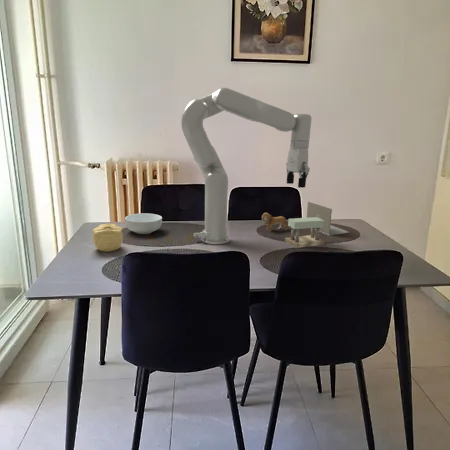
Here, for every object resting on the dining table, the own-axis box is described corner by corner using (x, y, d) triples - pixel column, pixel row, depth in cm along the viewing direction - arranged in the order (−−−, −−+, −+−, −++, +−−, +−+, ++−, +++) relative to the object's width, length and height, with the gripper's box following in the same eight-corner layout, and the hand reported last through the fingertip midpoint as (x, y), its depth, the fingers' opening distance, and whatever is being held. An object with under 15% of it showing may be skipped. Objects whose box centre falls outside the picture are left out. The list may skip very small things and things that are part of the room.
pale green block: (294, 229, 167) (294, 222, 166) (288, 225, 172) (288, 218, 171) (323, 227, 171) (324, 220, 170) (316, 223, 176) (317, 217, 175)
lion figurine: (264, 232, 188) (265, 214, 185) (258, 229, 192) (259, 211, 190) (290, 230, 193) (292, 212, 191) (285, 227, 198) (286, 209, 196)
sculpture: (93, 255, 152) (91, 228, 150) (94, 245, 164) (92, 220, 161) (124, 253, 156) (122, 226, 153) (122, 243, 167) (121, 219, 164)
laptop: (349, 233, 191) (352, 207, 187) (328, 236, 185) (331, 209, 182) (325, 224, 206) (327, 199, 203) (305, 226, 201) (307, 201, 198)
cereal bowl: (142, 239, 174) (141, 223, 172) (117, 232, 183) (117, 217, 181) (169, 231, 187) (169, 216, 185) (145, 225, 196) (145, 211, 194)
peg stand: (296, 247, 166) (298, 230, 165) (284, 241, 175) (285, 224, 173) (324, 244, 171) (326, 227, 170) (311, 238, 180) (313, 222, 179)
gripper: (281, 142, 172) (278, 182, 176) (302, 146, 156) (298, 189, 160) (296, 143, 174) (293, 182, 179) (318, 146, 159) (314, 188, 163)
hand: (295, 185), depth 170 cm, fingers open, 9 cm apart
